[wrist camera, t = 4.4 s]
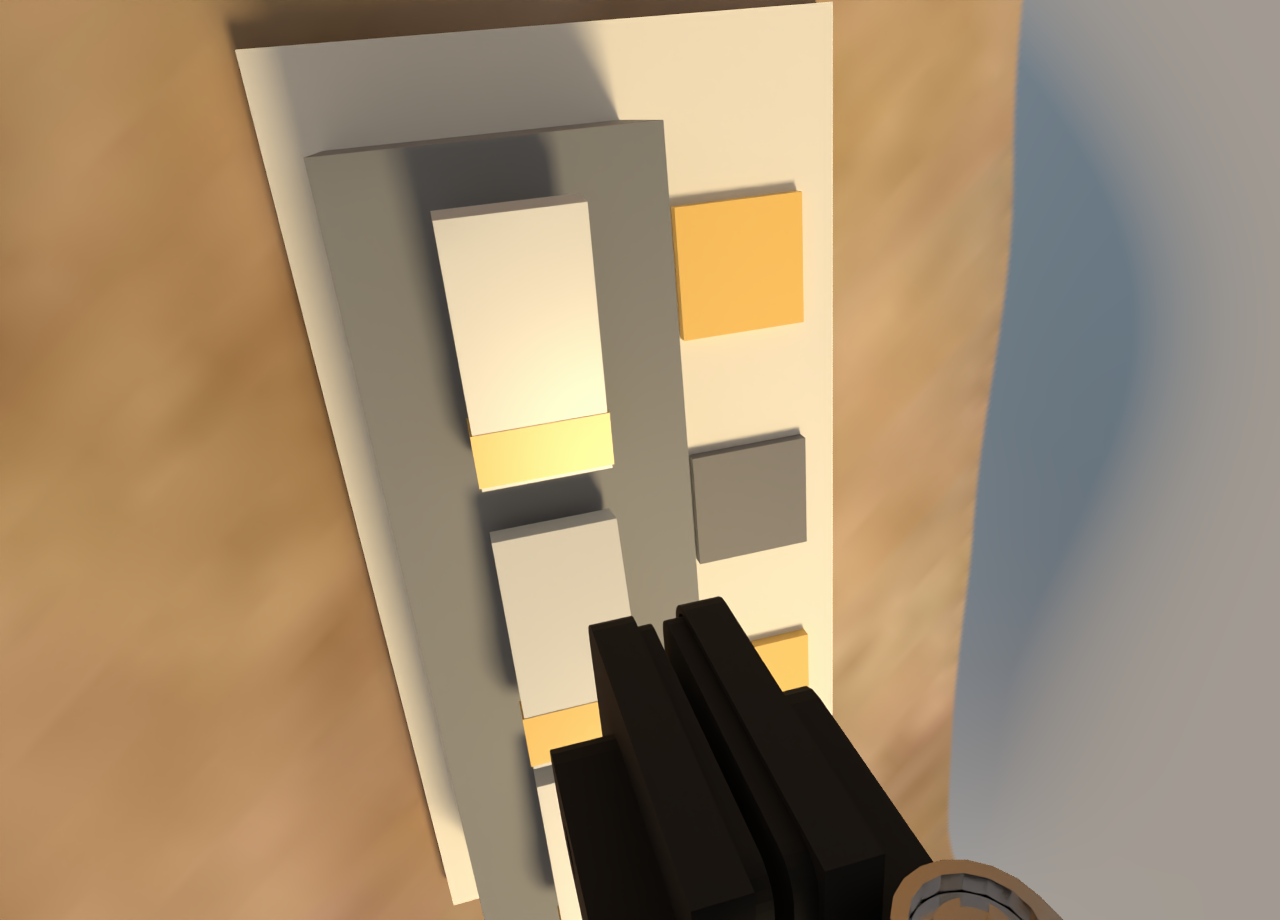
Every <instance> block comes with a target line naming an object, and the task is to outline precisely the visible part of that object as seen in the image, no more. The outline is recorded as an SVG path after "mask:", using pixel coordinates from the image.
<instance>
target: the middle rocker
mask: <svg viewBox="0 0 1280 920" xmlns="http://www.w3.org/2000/svg"><path fill="white" fill-rule="evenodd" d="M489 533H490V538H491V543H492V549H493V554H494V559H495V565H496V570H497V576H498V581H499V586H500V592H501V597H502V602H503V608H504V613H505V619H506V624H507V629H508V635H509V640H510V645H511V651H512V656H513V662H514V667H515V672H516V678H517V683H518V688H519V694H520V699H521V701H519V704H520V709H521V715H522V720H523V725H524V731H525V736H526V742H527V747H528V752H529V757H530V763H531V767H533V768H534V769H537V768H541V767H544V766H548V765H552V763H551V757H550V750H551V749H555V748H559V747H563V746H567V745H571V744H575V743H579V742H583V741H587V740H591V739H595V738H599V737H602V730H601V722H600V715H599V708H598V700H597V693H596V686H595V678H594V671H593V664H592V656H591V649H590V641H589V633H588V627H589V625H592V624H596V623H601V622H605V621H610V620H614V619H619V618H623V617H628V616H631V612H630V605H629V599H628V592H627V585H626V578H625V571H624V565H623V558H622V551H621V544H620V538H619V531H618V524H617V518H616V517H615V516H614V514H613V513H612V512H611V510H610V509H604V510H599V511H594V512H589V513H584V514H579V515H574V516H569V517H564V518H559V519H553V520H548V521H543V522H538V523H533V524H528V525H523V526H518V527H513V528H508V529H503V530H498V531H493V532H489Z"/></svg>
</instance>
